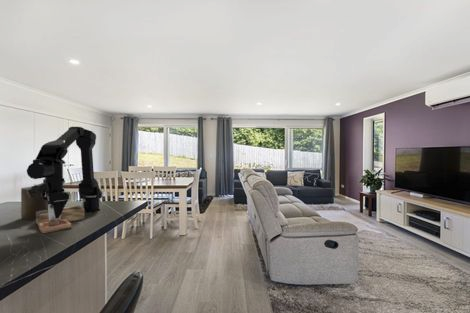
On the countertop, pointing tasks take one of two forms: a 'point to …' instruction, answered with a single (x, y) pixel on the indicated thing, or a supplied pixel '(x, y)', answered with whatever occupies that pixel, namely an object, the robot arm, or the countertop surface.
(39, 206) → the pillar candle
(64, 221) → the rack tray
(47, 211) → the grey rectangular metal block
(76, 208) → the socket block
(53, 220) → the grey tall cylinder
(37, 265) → the countertop surface
